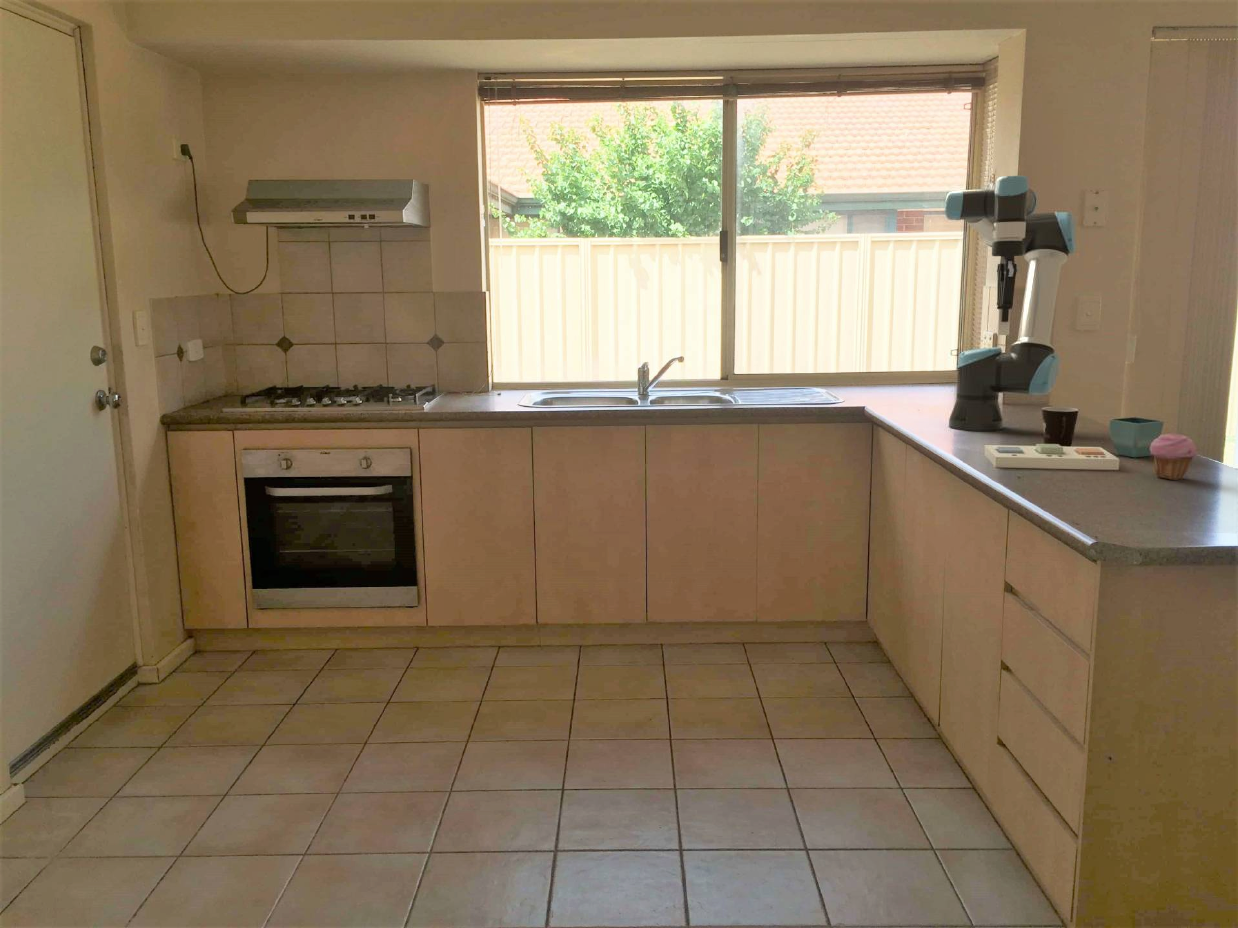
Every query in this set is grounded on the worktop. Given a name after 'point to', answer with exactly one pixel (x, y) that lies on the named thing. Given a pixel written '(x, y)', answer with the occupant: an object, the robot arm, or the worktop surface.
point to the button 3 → (1089, 451)
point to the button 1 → (1009, 450)
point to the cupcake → (1172, 455)
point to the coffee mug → (1059, 425)
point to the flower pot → (1134, 435)
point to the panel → (1051, 459)
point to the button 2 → (1049, 449)
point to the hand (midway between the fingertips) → (1002, 334)
